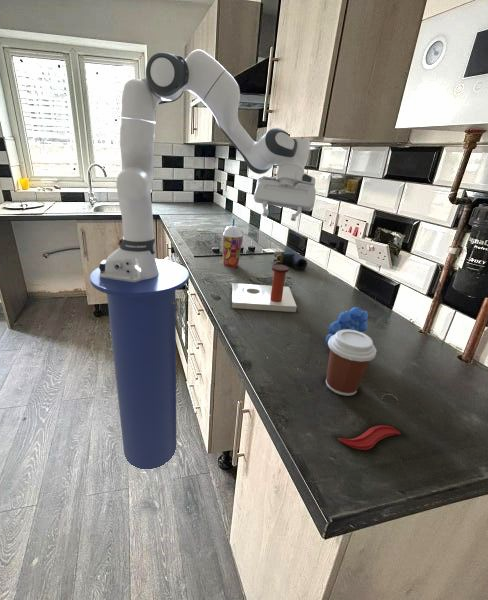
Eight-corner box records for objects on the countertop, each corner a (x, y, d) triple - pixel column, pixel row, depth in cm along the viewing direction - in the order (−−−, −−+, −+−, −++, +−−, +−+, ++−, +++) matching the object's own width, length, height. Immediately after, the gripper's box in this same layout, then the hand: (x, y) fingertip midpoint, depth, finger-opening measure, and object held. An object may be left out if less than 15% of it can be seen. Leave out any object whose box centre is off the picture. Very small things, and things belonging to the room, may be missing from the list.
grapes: (348, 338, 87) (359, 298, 82) (367, 351, 82) (379, 309, 76) (312, 344, 84) (321, 303, 79) (329, 359, 78) (340, 315, 73)
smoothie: (227, 261, 144) (230, 215, 135) (243, 265, 139) (247, 218, 131) (217, 265, 137) (219, 218, 129) (234, 270, 133) (237, 221, 125)
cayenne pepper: (343, 450, 54) (345, 441, 53) (332, 428, 58) (334, 420, 57) (411, 448, 55) (415, 440, 54) (395, 427, 59) (399, 419, 58)
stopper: (268, 302, 101) (272, 269, 96) (267, 295, 106) (271, 264, 101) (285, 303, 101) (290, 270, 96) (283, 296, 106) (287, 265, 101)
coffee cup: (310, 377, 71) (320, 330, 66) (341, 368, 75) (353, 323, 70) (341, 405, 64) (355, 355, 59) (373, 393, 67) (389, 345, 62)
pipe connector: (281, 258, 133) (270, 248, 146) (279, 270, 135) (269, 259, 148) (308, 258, 134) (294, 248, 148) (305, 270, 137) (293, 259, 150)
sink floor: (231, 307, 101) (232, 302, 100) (232, 288, 116) (232, 283, 115) (295, 312, 100) (296, 306, 99) (288, 291, 115) (289, 286, 114)
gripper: (258, 170, 108) (248, 208, 107) (320, 179, 104) (310, 219, 102) (259, 180, 115) (249, 216, 113) (317, 189, 110) (308, 226, 108)
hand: (279, 217), depth 107 cm, fingers open, 8 cm apart
